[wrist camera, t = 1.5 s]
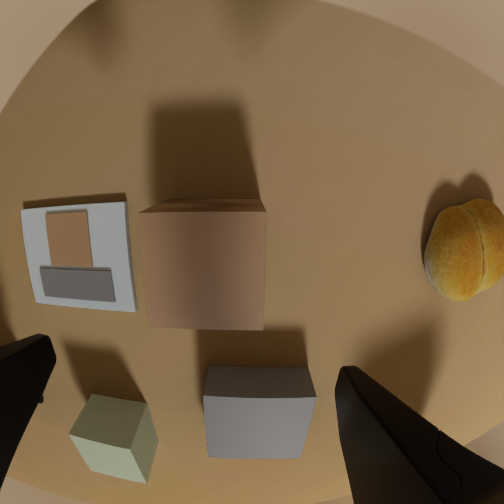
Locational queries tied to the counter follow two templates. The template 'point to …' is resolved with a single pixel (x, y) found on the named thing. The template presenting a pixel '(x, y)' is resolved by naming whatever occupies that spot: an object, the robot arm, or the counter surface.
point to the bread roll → (465, 250)
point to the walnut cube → (204, 263)
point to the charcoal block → (257, 411)
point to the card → (80, 255)
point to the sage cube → (116, 437)
